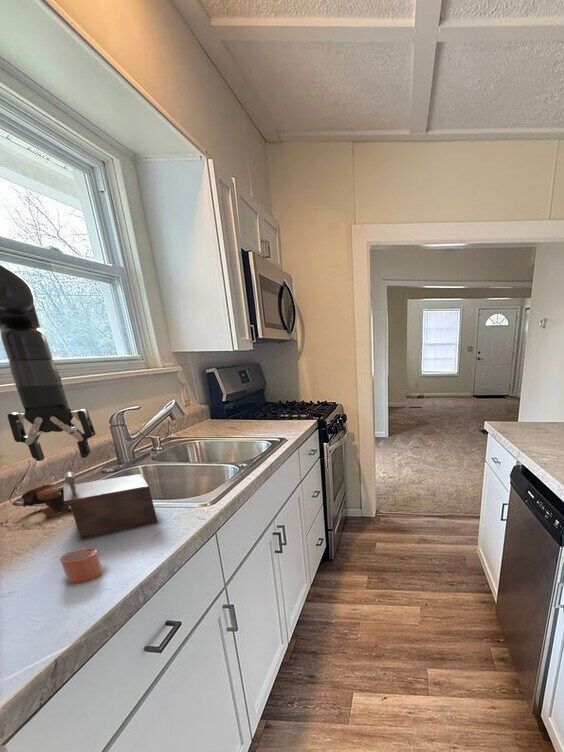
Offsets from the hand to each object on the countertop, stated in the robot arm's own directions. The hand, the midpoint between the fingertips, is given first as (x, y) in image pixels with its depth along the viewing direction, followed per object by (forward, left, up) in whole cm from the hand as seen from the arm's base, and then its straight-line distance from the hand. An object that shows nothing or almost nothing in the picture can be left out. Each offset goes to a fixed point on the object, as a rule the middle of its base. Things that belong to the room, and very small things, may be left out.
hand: (63, 458), depth 90 cm
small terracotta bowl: (-10, -23, -17) cm, 31 cm away
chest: (+6, -2, -17) cm, 19 cm away
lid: (+6, -2, -9) cm, 11 cm away
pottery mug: (+1, +21, -18) cm, 27 cm away
